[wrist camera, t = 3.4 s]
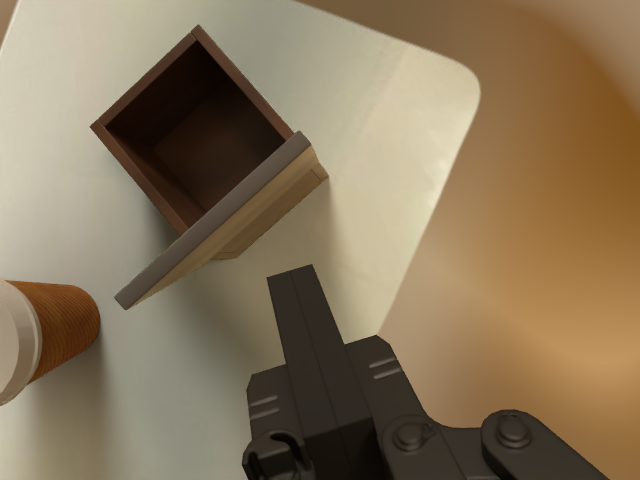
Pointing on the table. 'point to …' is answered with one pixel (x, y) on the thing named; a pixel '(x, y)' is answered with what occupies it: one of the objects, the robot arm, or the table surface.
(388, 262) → the table surface
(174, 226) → the box
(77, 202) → the table surface
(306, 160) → the lid
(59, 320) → the disposable coffee cup
